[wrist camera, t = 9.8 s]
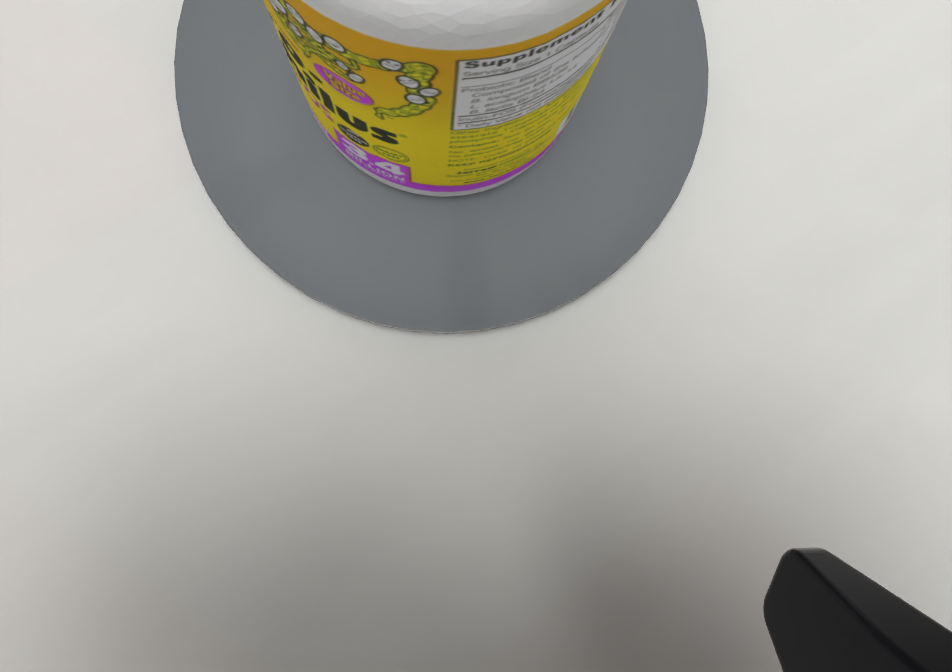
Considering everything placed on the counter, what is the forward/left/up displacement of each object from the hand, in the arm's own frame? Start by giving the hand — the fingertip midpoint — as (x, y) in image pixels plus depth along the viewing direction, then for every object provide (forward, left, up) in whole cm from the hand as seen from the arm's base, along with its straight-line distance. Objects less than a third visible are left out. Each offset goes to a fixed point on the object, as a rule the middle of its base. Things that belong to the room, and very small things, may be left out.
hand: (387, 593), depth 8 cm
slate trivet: (+6, -8, -11) cm, 15 cm away
